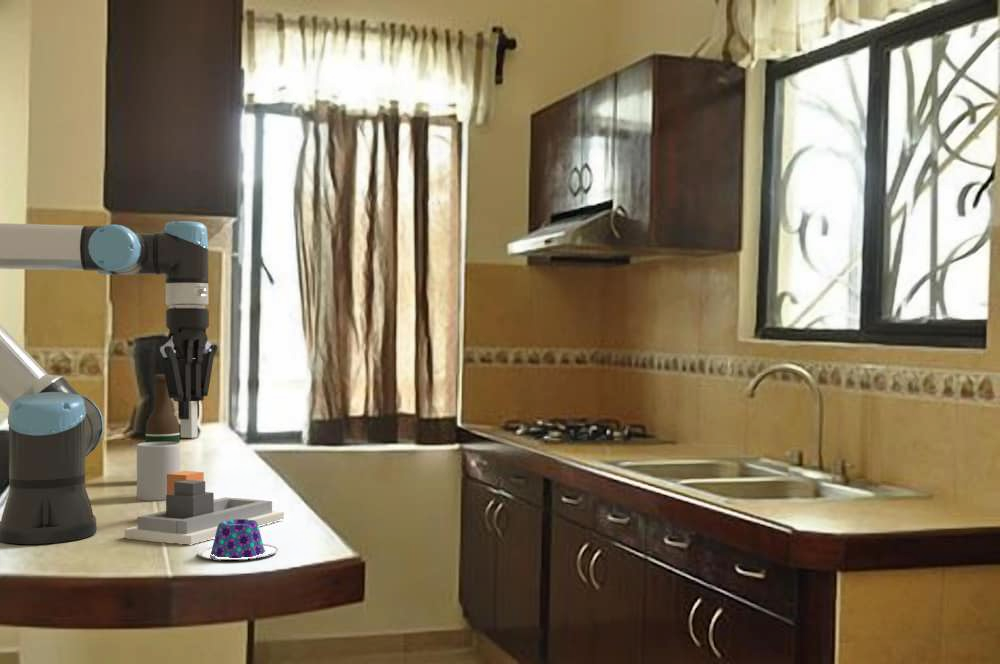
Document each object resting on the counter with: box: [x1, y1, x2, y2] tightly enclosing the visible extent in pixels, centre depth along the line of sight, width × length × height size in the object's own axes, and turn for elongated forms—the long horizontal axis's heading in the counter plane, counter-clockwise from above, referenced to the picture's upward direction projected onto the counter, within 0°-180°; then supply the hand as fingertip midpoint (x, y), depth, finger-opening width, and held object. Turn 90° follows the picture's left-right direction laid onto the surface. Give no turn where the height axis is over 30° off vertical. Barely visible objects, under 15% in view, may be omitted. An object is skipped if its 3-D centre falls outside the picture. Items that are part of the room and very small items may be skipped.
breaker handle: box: [165, 480, 215, 519], centre depth 181 cm, size 5×6×7 cm
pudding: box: [197, 519, 279, 561], centre depth 165 cm, size 12×12×5 cm
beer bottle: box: [145, 374, 181, 444], centre depth 241 cm, size 8×8×24 cm
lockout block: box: [167, 470, 205, 494], centre depth 198 cm, size 5×5×8 cm
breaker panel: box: [124, 496, 285, 545], centre depth 185 cm, size 24×14×4 cm, turn 155°
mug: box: [136, 442, 181, 502], centre depth 221 cm, size 12×8×11 cm
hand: (189, 437), depth 196 cm, fingers closed
